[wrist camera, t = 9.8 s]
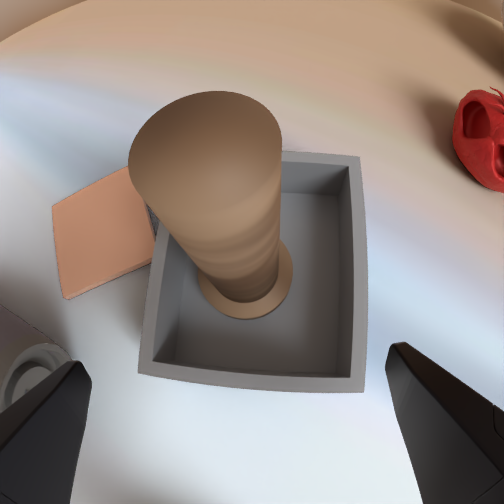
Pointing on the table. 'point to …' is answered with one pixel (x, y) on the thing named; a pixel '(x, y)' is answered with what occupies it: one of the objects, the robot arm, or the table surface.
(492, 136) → the pomegranate
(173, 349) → the box
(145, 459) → the table surface
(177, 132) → the walnut handle
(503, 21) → the decorative bowl
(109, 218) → the terracotta tile
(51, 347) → the bluetooth speaker
